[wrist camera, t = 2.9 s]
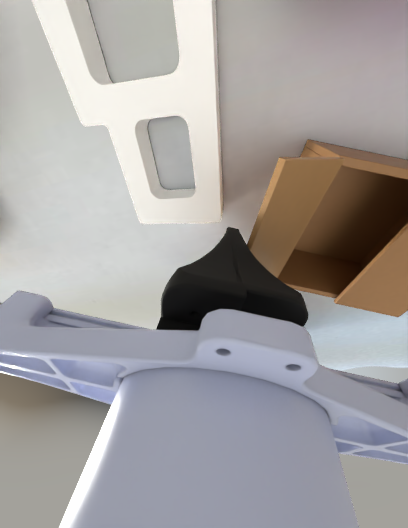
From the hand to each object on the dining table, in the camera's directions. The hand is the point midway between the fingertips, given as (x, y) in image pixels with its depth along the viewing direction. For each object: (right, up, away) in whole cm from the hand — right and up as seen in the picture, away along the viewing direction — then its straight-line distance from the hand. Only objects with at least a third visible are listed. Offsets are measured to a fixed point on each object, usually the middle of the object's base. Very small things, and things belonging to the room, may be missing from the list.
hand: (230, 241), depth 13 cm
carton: (+12, +4, +7) cm, 15 cm away
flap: (+3, -1, 0) cm, 3 cm away
